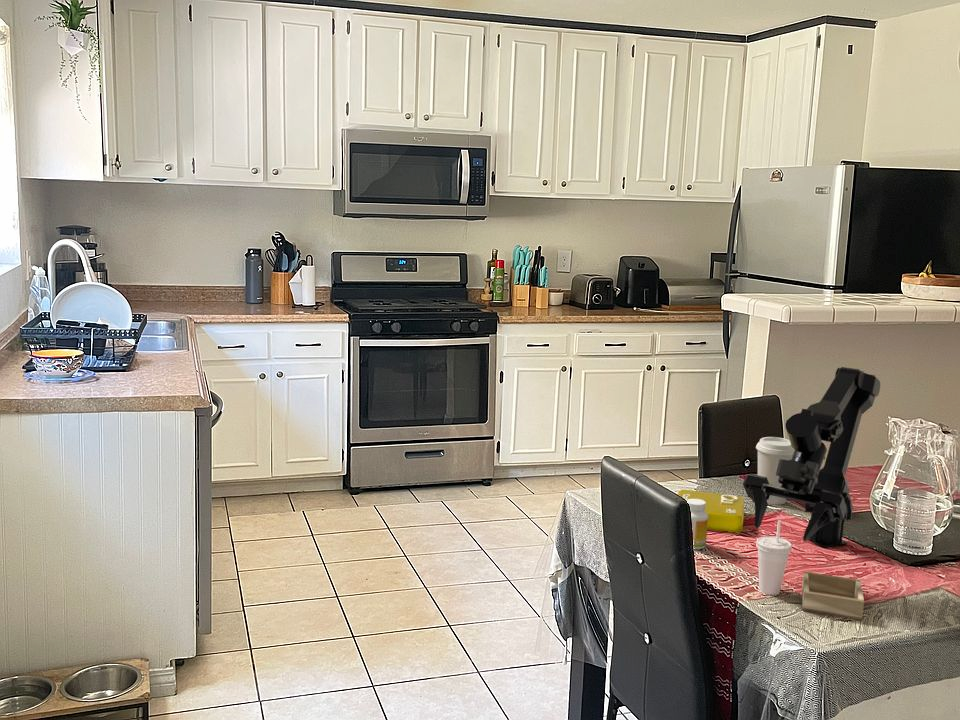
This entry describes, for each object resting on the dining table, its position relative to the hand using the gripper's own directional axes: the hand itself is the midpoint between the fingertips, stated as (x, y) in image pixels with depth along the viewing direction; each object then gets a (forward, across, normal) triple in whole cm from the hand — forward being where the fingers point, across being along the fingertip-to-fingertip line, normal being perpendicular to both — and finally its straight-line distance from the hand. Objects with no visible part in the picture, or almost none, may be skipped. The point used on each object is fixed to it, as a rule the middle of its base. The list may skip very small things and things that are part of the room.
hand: (779, 533), depth 175 cm
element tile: (-11, -25, +27) cm, 38 cm away
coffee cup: (-27, -18, +42) cm, 53 cm away
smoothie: (+10, 0, +6) cm, 11 cm away
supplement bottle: (+1, -21, +14) cm, 25 cm away
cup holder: (+8, +11, +7) cm, 15 cm away
